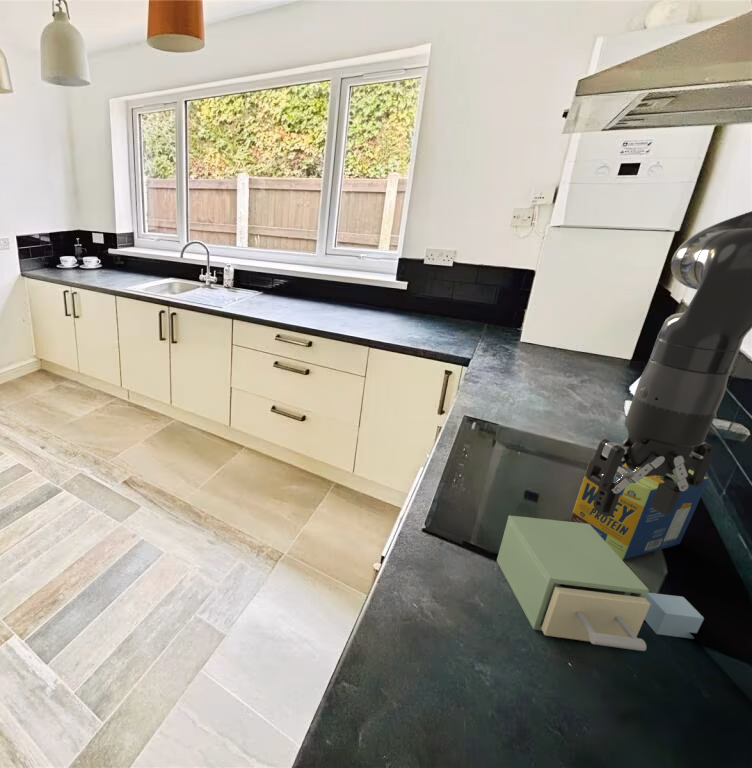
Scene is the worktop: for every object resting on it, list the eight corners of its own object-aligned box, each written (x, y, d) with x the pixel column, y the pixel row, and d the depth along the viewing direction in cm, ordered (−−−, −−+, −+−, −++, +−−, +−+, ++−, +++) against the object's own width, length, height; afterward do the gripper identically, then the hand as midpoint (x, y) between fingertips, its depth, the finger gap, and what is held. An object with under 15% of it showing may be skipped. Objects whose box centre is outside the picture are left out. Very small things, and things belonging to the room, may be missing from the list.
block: (673, 616, 70) (683, 596, 69) (694, 639, 66) (704, 618, 65) (638, 612, 71) (646, 592, 69) (656, 634, 67) (665, 613, 66)
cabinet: (627, 642, 66) (649, 590, 62) (533, 629, 67) (550, 578, 64) (573, 569, 79) (589, 523, 76) (496, 560, 81) (508, 515, 77)
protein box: (565, 528, 90) (588, 459, 84) (621, 515, 94) (646, 449, 89) (621, 565, 80) (650, 490, 75) (680, 549, 85) (712, 476, 79)
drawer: (656, 680, 59) (678, 635, 56) (562, 666, 61) (578, 622, 58) (579, 576, 76) (593, 538, 74) (507, 568, 78) (518, 530, 75)
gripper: (650, 413, 51) (606, 532, 57) (761, 411, 53) (708, 527, 58) (595, 389, 58) (561, 497, 64) (695, 388, 60) (652, 494, 65)
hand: (631, 511), depth 61 cm, fingers open, 8 cm apart
